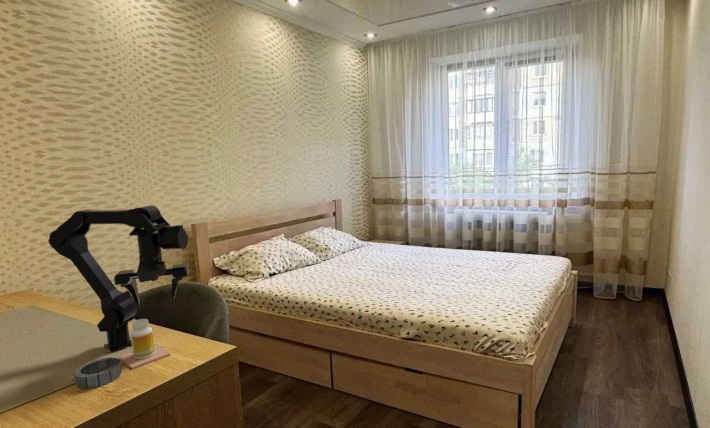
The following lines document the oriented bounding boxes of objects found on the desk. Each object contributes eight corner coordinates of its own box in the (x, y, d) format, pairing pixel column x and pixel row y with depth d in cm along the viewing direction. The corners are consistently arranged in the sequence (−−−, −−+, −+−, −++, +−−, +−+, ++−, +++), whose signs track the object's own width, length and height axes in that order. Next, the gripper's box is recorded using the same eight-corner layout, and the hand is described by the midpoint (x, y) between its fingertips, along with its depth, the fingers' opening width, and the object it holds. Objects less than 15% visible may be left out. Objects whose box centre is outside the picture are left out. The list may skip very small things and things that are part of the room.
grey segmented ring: (71, 380, 102) (70, 368, 102) (114, 364, 109) (112, 354, 109) (82, 393, 96) (80, 381, 95) (126, 376, 103) (125, 365, 102)
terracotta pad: (118, 358, 113) (118, 356, 113) (156, 345, 120) (155, 343, 120) (132, 369, 106) (131, 367, 106) (170, 354, 114) (170, 353, 114)
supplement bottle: (158, 353, 113) (154, 320, 112) (138, 361, 109) (133, 326, 108) (150, 348, 117) (146, 316, 116) (130, 356, 113) (125, 322, 112)
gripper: (105, 259, 106) (112, 317, 108) (182, 251, 112) (188, 306, 114) (116, 251, 117) (122, 304, 119) (186, 244, 122) (191, 294, 124)
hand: (156, 302), depth 119 cm, fingers open, 9 cm apart
